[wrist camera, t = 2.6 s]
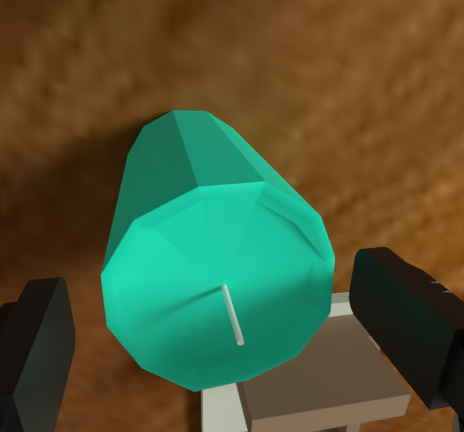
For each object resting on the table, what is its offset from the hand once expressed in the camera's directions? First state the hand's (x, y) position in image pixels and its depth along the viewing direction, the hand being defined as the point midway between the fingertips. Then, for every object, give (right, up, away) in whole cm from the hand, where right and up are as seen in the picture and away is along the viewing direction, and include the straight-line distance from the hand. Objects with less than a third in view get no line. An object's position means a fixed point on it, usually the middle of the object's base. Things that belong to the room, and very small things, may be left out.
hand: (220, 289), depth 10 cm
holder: (+4, -9, +15) cm, 18 cm away
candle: (-2, +4, +8) cm, 10 cm away
